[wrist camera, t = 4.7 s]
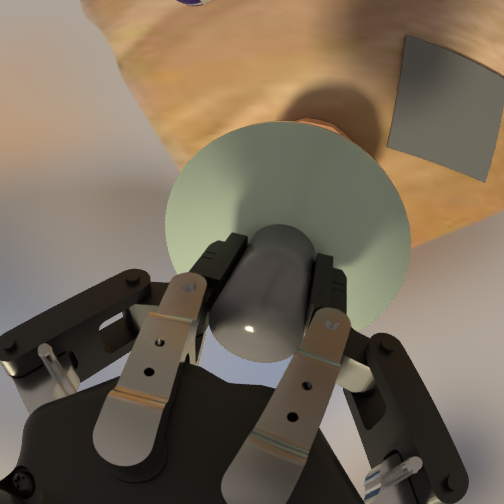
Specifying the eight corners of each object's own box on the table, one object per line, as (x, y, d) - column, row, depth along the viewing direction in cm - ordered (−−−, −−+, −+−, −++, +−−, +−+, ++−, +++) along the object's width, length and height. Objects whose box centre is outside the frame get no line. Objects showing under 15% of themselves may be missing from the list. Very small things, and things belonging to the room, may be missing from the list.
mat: (405, 35, 19) (406, 34, 19) (504, 80, 18) (507, 80, 17) (386, 146, 26) (387, 147, 25) (483, 181, 24) (485, 182, 23)
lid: (177, 107, 12) (86, 126, 7) (438, 159, 11) (503, 212, 6) (177, 303, 19) (130, 372, 14) (360, 351, 17) (356, 436, 12)
